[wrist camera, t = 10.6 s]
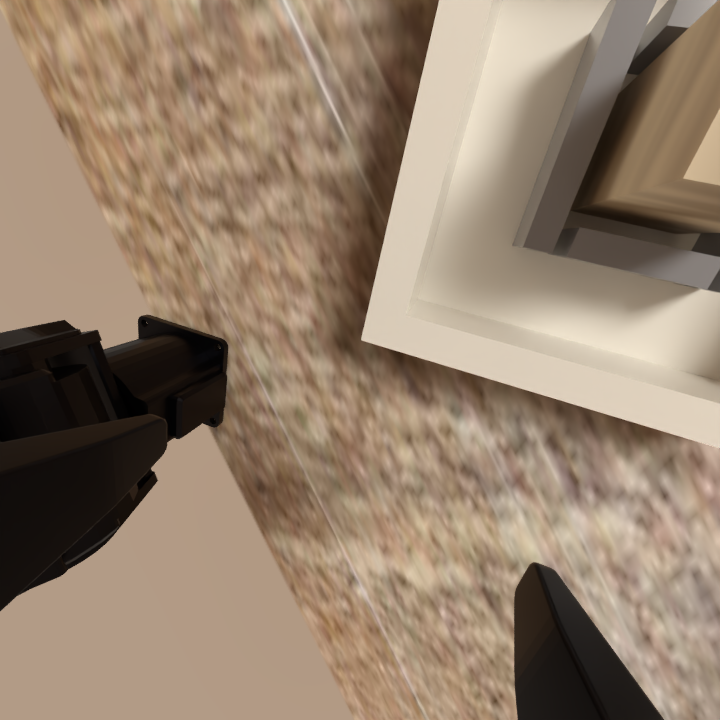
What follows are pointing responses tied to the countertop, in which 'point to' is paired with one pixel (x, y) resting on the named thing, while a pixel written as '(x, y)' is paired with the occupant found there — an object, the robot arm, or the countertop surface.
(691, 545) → the countertop surface
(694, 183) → the wooden block
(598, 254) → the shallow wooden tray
